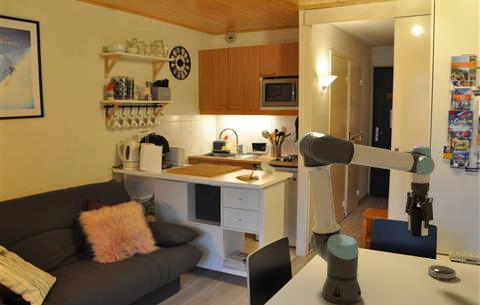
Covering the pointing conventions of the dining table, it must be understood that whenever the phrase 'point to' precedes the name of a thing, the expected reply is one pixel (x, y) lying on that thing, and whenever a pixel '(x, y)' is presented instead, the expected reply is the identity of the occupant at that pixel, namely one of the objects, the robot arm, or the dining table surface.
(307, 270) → the dining table surface
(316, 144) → the robot arm
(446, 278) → the grey metal bowl
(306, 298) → the dining table surface
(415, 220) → the cup
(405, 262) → the dining table surface
